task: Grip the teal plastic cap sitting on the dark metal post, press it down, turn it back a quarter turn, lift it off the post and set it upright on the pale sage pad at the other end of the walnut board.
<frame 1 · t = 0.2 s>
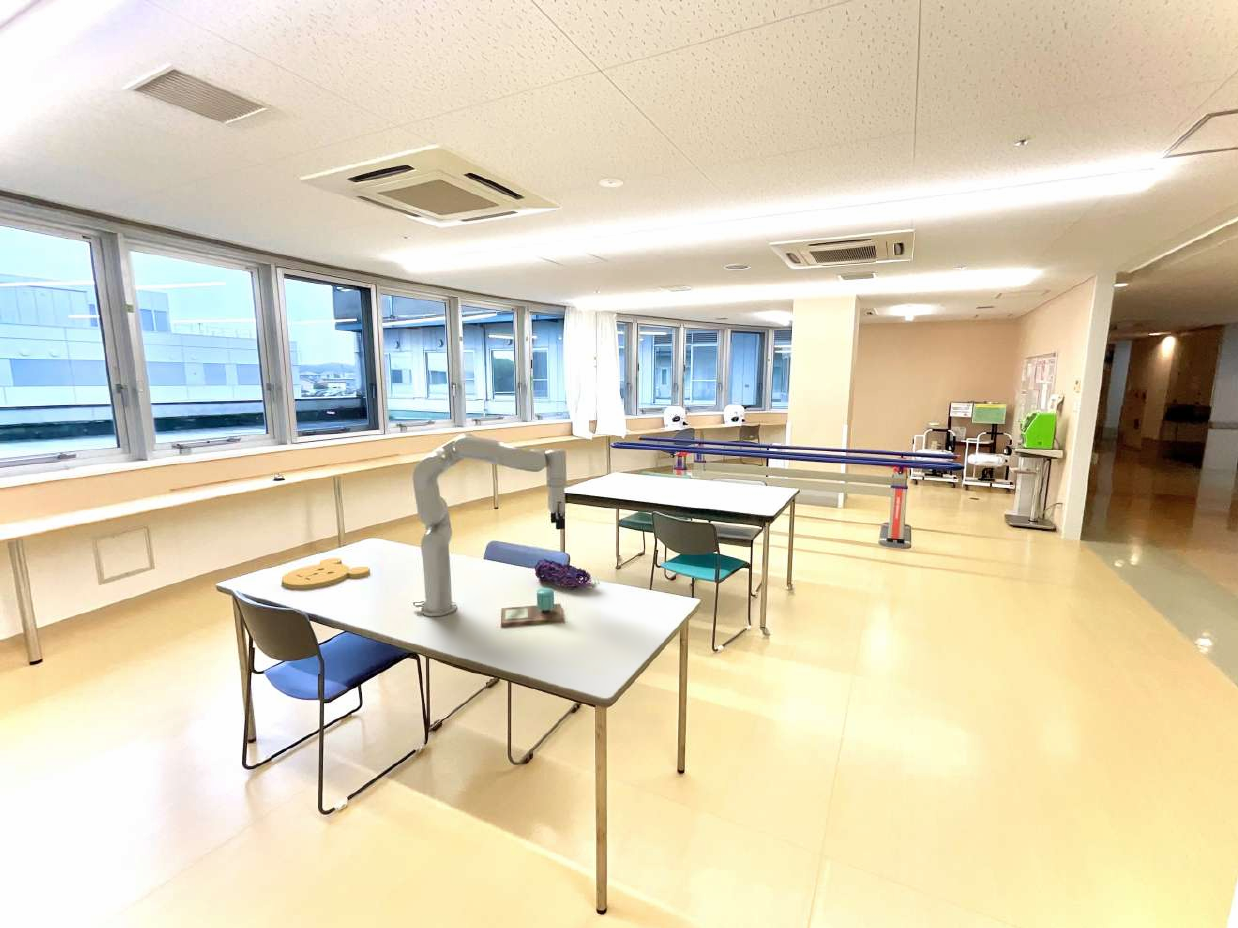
hand: (557, 525, 205), 31 cm above the table, tool pointing down, fingers open, 9 cm apart
decorative ornament: (567, 586, 226), on the table
post board: (532, 616, 196), on the table
decorative plaque: (321, 578, 235), on the table
teal cap: (545, 606, 196), point 3 cm above the table, touching post board
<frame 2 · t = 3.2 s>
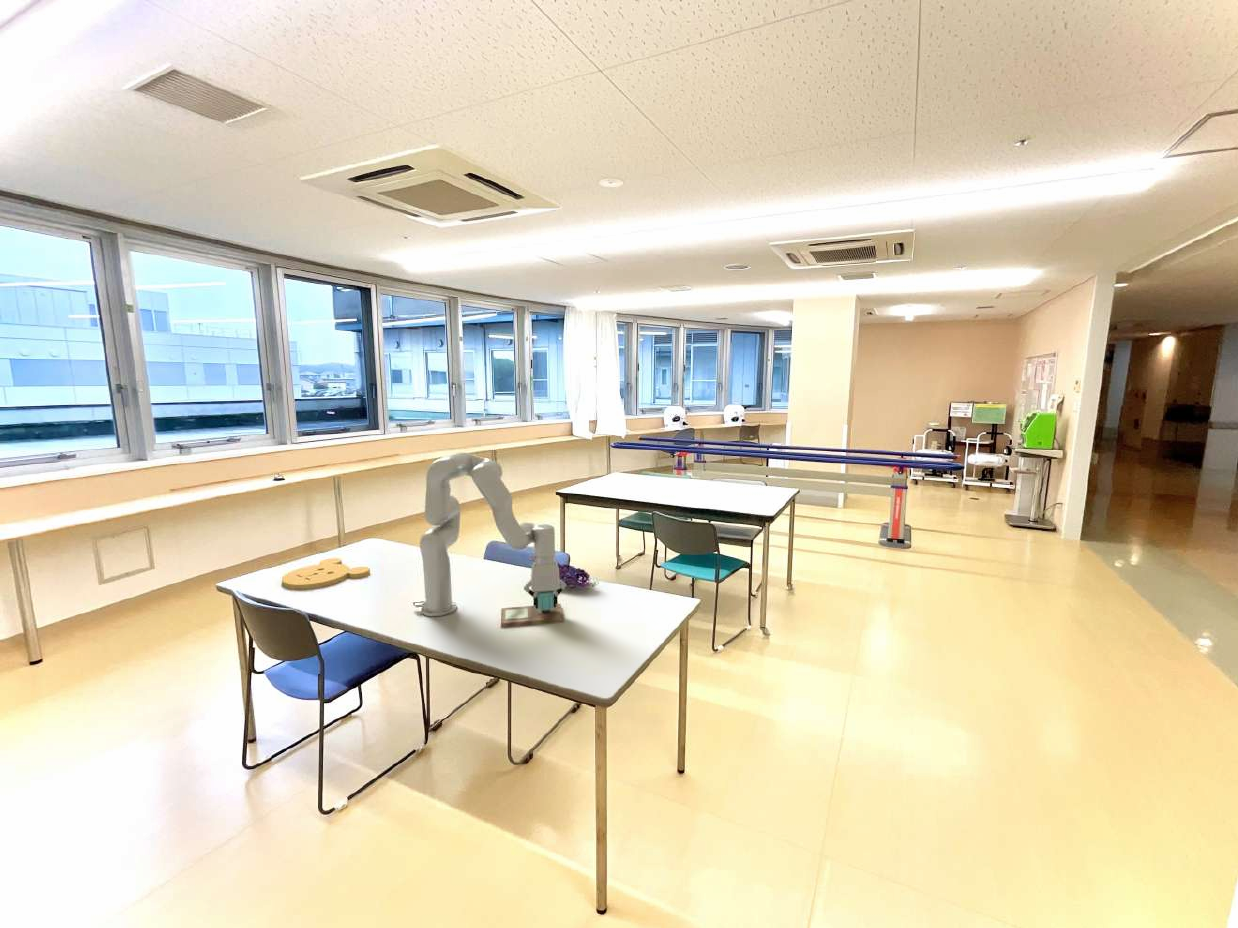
hand: (545, 605, 196), 4 cm above the table, tool pointing down, fingers closed on teal cap, 6 cm apart
teal cap: (545, 606, 196), point 3 cm above the table, touching gripper, post board
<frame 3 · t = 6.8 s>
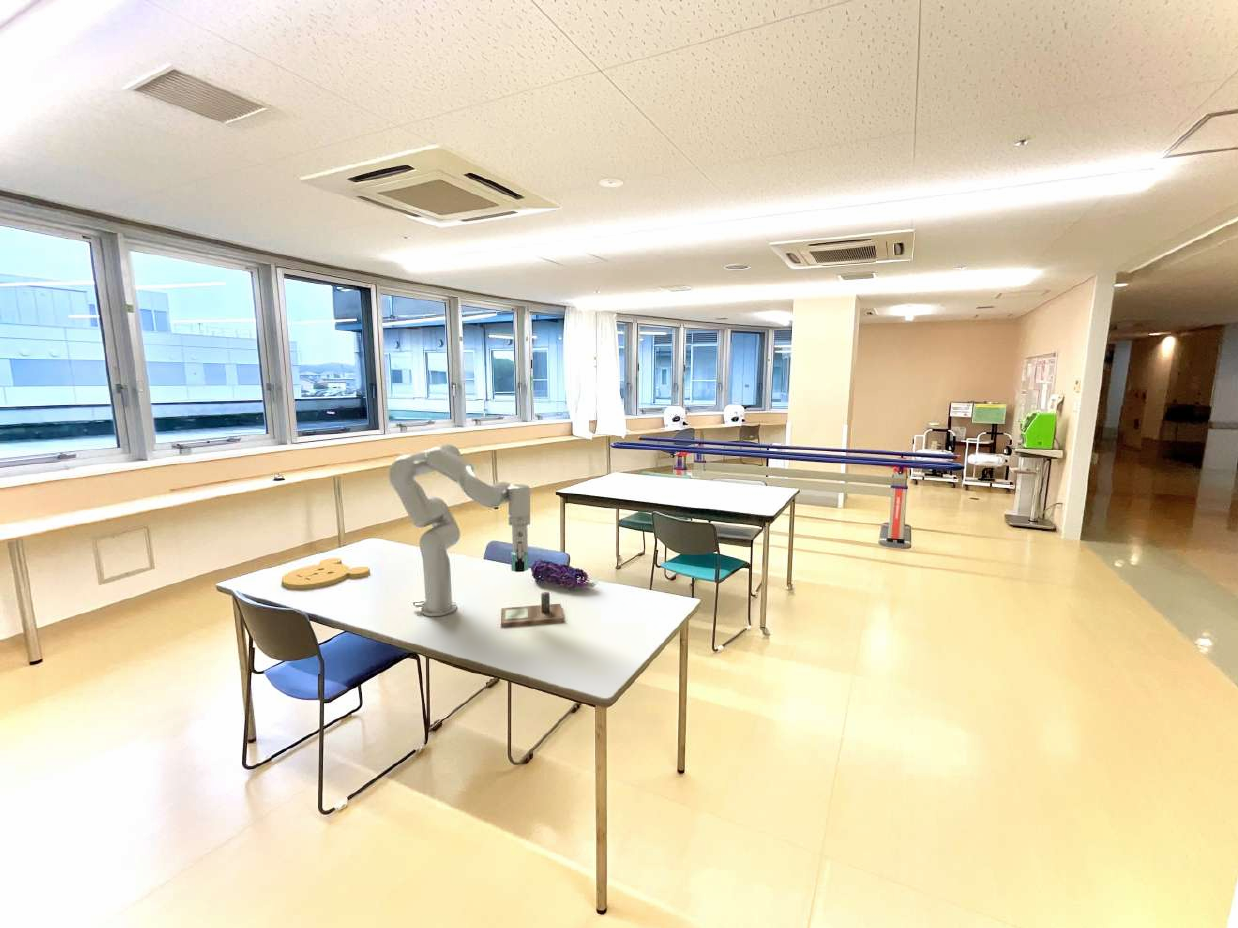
hand: (519, 567, 192), 19 cm above the table, tool pointing down, fingers closed on teal cap, 6 cm apart
teal cap: (519, 568, 192), point 19 cm above the table, touching gripper
when the fingers open (3 cm above the table, at t = 10.6 s): teal cap drops 1 cm, resting on post board.
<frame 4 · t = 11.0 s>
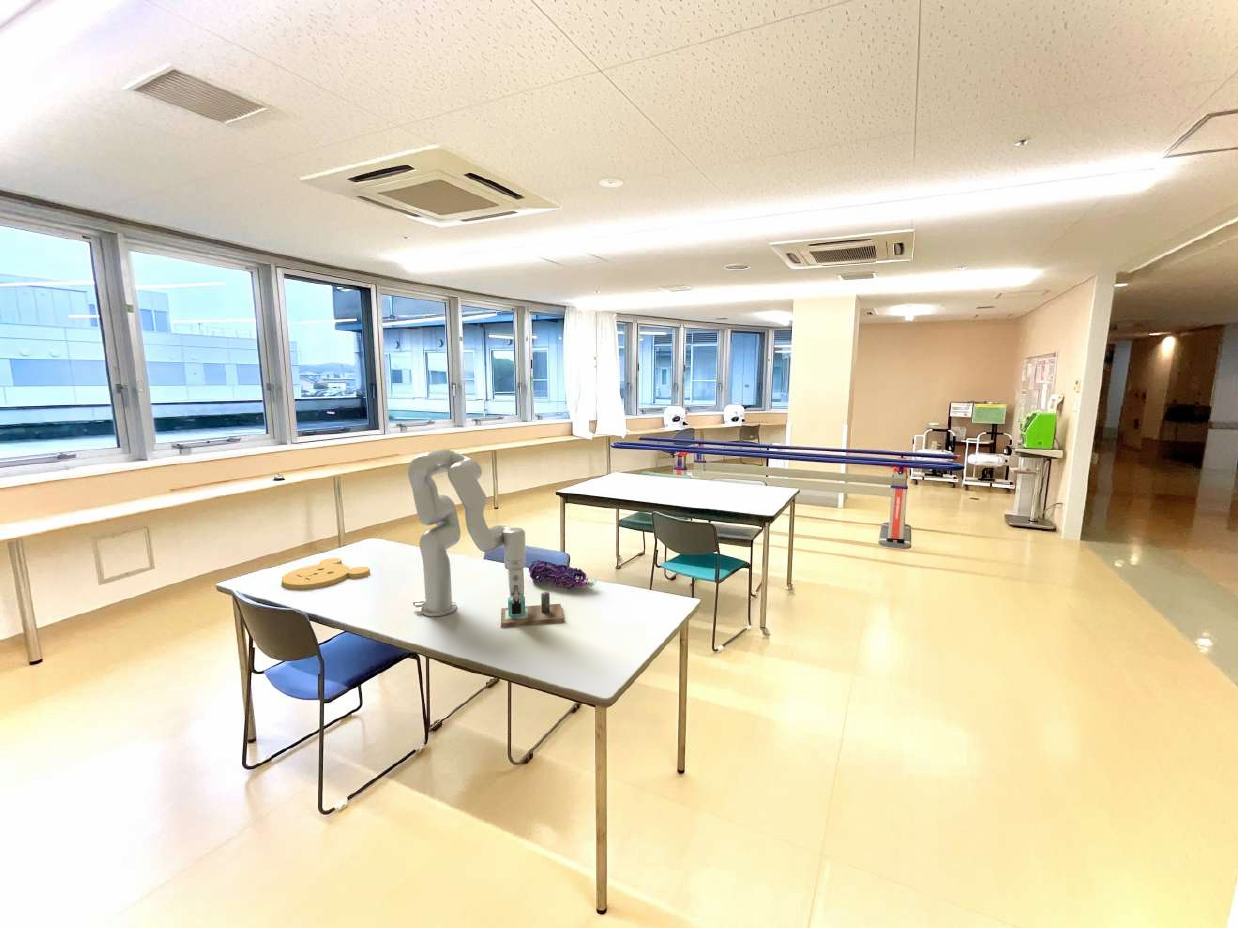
hand: (516, 607, 194), 4 cm above the table, tool pointing down, fingers open, 9 cm apart
teal cap: (516, 613, 194), point 2 cm above the table, touching post board
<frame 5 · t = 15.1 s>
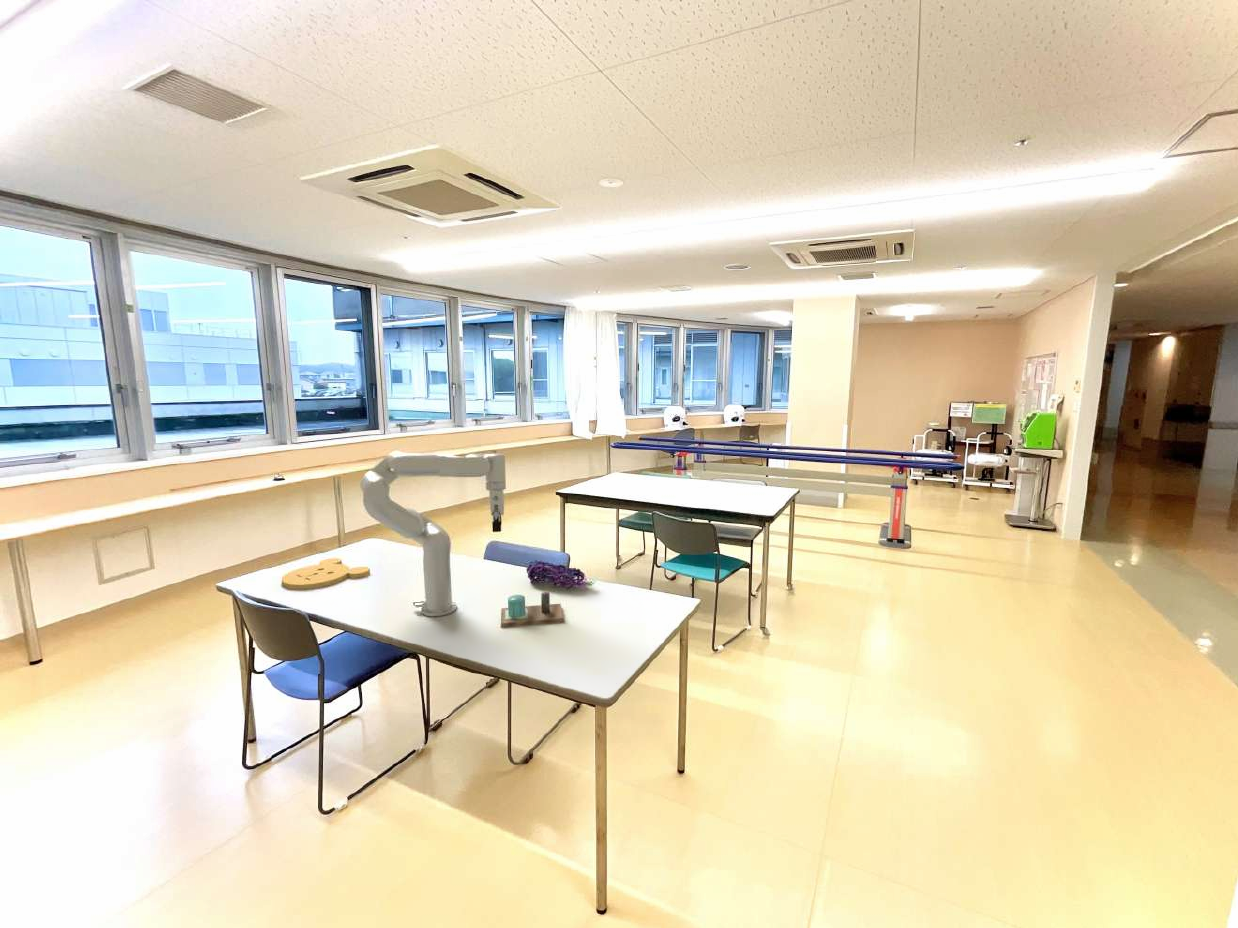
hand: (497, 528, 209), 28 cm above the table, tool pointing down, fingers open, 9 cm apart
at the end: teal cap 0.1 cm from the target spot on the post board, point 1.7 cm above the post board's base; teal cap tilted 0°; the gripper is holding nothing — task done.
